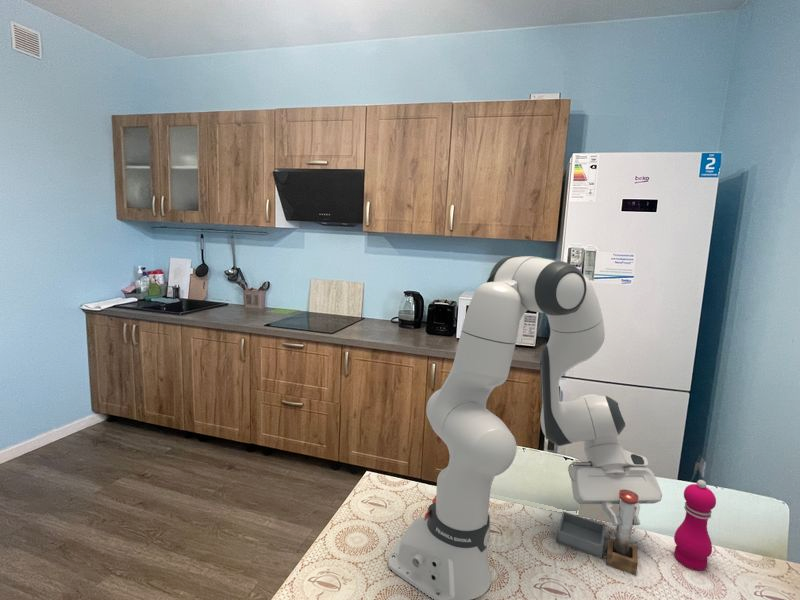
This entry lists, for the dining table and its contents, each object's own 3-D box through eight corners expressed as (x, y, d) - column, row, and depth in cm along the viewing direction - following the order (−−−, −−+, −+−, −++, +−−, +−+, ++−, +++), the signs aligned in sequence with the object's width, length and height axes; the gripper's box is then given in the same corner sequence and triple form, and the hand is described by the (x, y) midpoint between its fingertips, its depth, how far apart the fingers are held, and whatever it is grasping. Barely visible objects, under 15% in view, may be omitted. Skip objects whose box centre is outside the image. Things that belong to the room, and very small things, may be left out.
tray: (556, 542, 103) (557, 531, 102) (561, 521, 111) (562, 511, 110) (601, 558, 98) (603, 547, 98) (604, 535, 106) (605, 524, 105)
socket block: (606, 564, 96) (607, 552, 96) (607, 548, 101) (608, 537, 101) (636, 575, 93) (637, 563, 93) (636, 558, 99) (637, 546, 98)
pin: (610, 556, 96) (619, 495, 94) (611, 546, 100) (619, 487, 97) (629, 563, 94) (638, 501, 92) (629, 553, 98) (638, 492, 96)
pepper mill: (715, 575, 94) (729, 492, 91) (679, 569, 96) (691, 487, 93) (699, 552, 101) (711, 474, 98) (666, 546, 103) (677, 469, 100)
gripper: (571, 457, 100) (588, 523, 92) (653, 457, 102) (677, 522, 94) (560, 465, 105) (576, 528, 97) (638, 465, 107) (660, 527, 99)
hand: (626, 525), depth 95 cm, fingers closed on pin, 3 cm apart
